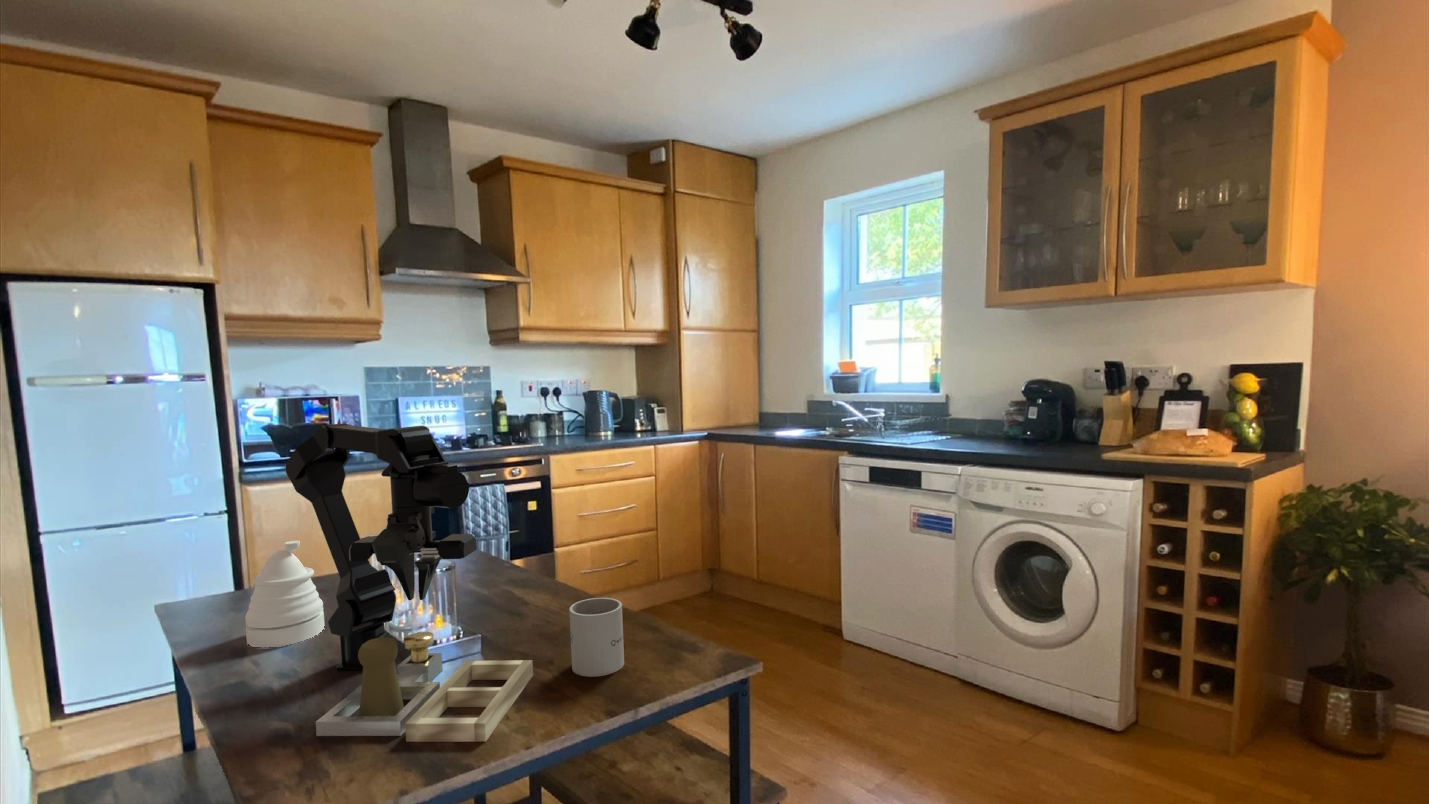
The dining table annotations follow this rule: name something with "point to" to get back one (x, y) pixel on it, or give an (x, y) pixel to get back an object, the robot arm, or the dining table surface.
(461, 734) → the rack
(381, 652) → the cork
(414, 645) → the release key
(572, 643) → the mug
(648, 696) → the dining table surface
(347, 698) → the socket block
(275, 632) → the honey pot
